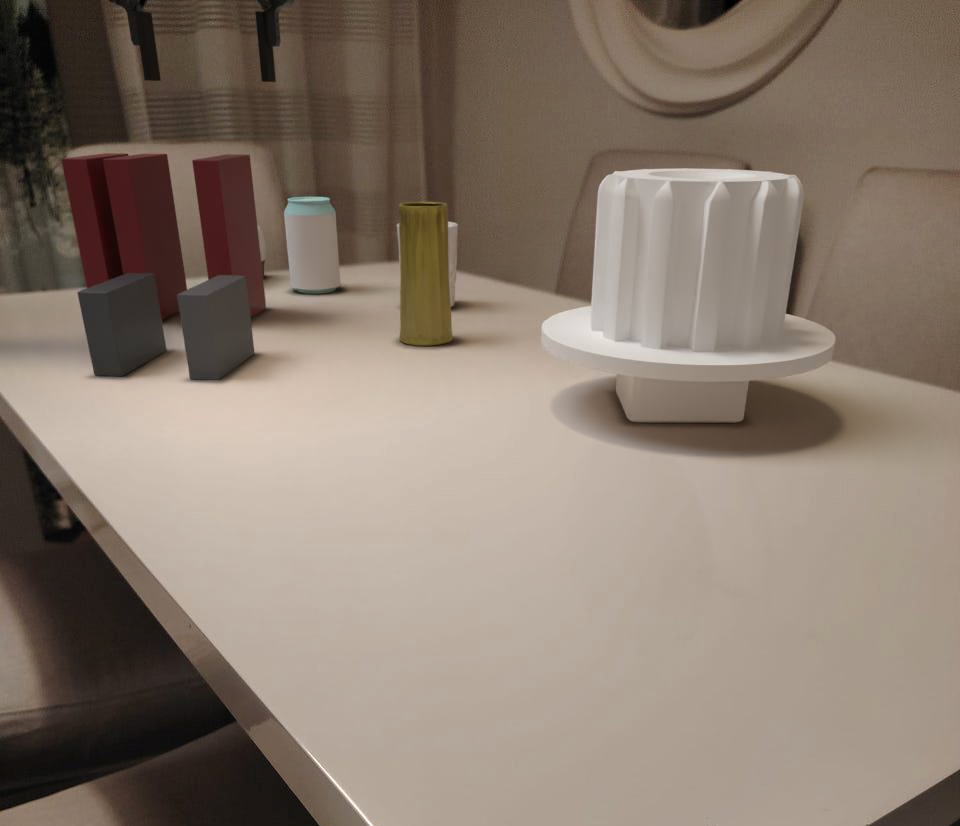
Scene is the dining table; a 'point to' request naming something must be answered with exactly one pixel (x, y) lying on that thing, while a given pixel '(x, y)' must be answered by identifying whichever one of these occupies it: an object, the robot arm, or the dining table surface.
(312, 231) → the can
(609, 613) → the dining table surface
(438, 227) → the vase
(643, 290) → the flanged gear
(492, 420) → the dining table surface
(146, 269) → the burgundy books
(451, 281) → the white cup
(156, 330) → the grey bookends
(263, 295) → the burgundy book
